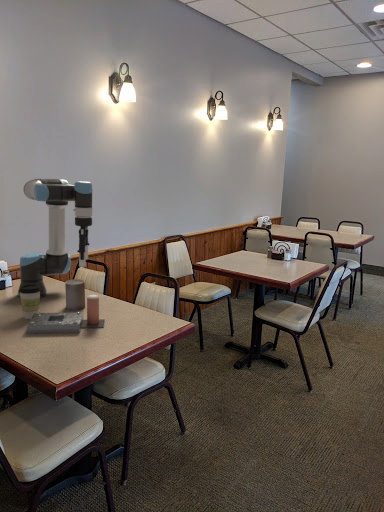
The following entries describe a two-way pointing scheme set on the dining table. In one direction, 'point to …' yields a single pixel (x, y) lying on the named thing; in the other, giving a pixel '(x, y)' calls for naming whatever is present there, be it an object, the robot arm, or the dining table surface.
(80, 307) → the pillar candle
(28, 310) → the coffee cup
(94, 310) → the pink round peg
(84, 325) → the mat
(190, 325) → the dining table surface
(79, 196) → the robot arm
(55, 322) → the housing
